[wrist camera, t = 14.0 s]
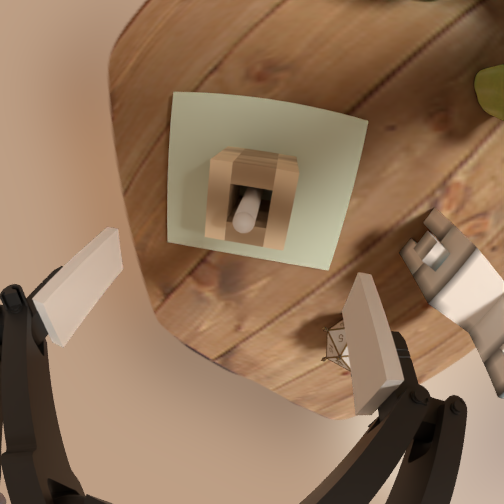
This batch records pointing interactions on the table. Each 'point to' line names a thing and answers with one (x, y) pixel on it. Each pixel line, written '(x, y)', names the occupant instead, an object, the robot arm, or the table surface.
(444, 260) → the toy llama
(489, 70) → the plant pot
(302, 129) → the stand
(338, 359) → the game die
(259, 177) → the bead
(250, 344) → the table surface
